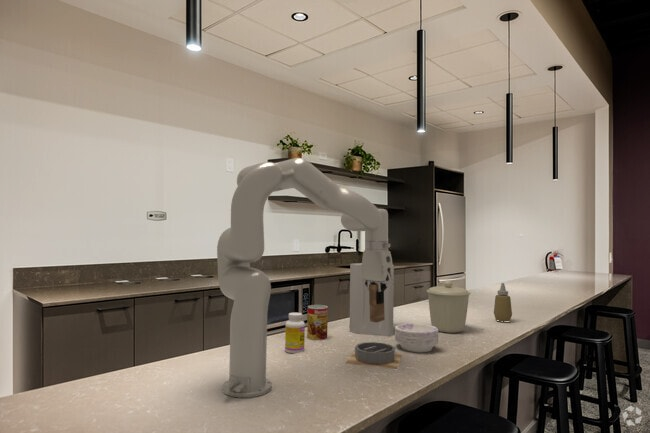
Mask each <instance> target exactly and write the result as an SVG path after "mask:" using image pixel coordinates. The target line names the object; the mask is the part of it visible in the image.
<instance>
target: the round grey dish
mask: <svg viewBox="0 0 650 433" xmlns="http://www.w3.org/2000/svg"><path fill="white" fill-rule="evenodd" d="M372 346H377V351H378V350H382V349H387V352H379V353H376V352H367V351H363V349H365V348H368V347H372ZM354 351H355V357H356V360H358V361H360V362H363V363H367V364H375V365H382V364H389V363H392V362H394V360H395V353H396V347H394V346H393V345H392V344H387V343H384V342H376V341H371V342H370V341H369V342H366V341H365V342H362V343H361V342H360V343H357V344H356V345H355V346H354Z"/></svg>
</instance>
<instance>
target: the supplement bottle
mask: <svg viewBox="0 0 650 433" xmlns="http://www.w3.org/2000/svg"><path fill="white" fill-rule="evenodd" d="M302 318H303V314H302V312H289V313H288V320H287V321H286V322H285V331H284V332H285V336H284V337H285V338H284V340H285V342H284V348H285V349H284V350H285V352H287V353H288V354H297V353H298V354H299V353H302V352H304V351H305V335H306V334H305V333H306V332H305V331H306V330H305V328H306V324H305V321H303V320H302Z"/></svg>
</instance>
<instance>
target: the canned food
mask: <svg viewBox="0 0 650 433" xmlns="http://www.w3.org/2000/svg"><path fill="white" fill-rule="evenodd" d="M328 309H329V306H328V305H324V304H323V305H322V304H311V305H308V306H307V324H306V325H307V326H306V328H307V329H306V334H307V335H306V336H307V337H306V338H307V339H308V340H310V341H311V340H312V341H324V340H326V339H328V316H329V314H328V313H329V310H328Z"/></svg>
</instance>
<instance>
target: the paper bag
mask: <svg viewBox="0 0 650 433" xmlns="http://www.w3.org/2000/svg"><path fill="white" fill-rule="evenodd" d="M349 265H350V268H349V269H350V270H349V274H350V276H349V280H350V281H349V333H351V332H352V334H355V335H367V336H381V337H382V336H383V337H391V336H394V305H395V304H394V302H395V301H394V297H395V296H394V290H395V289H394V288H395V284H394V283H395V266H394V264H393V280H392V282H393V285H391V286H388V287H387V288H386V290H385V291H384V315H385V320H383V321H380V322H376V323H375V322H370V306H369V290H368V289H367V286H366V285H365V284H364V283H363V282H362V281H361V278H362V262H360V263H350V264H349ZM386 282H387V281H386ZM376 283H377V282H376Z"/></svg>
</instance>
